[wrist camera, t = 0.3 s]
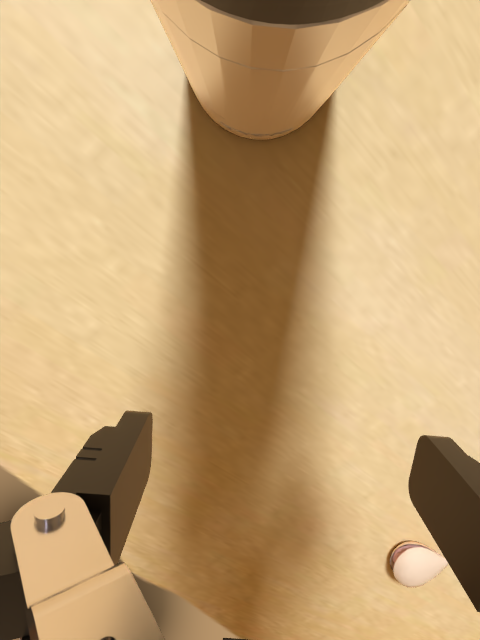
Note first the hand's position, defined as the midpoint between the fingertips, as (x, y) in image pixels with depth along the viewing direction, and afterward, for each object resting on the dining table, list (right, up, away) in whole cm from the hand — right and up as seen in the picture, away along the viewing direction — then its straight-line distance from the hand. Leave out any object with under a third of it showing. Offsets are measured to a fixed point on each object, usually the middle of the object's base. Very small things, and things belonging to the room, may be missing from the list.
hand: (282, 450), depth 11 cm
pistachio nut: (+15, -17, +24) cm, 33 cm away
